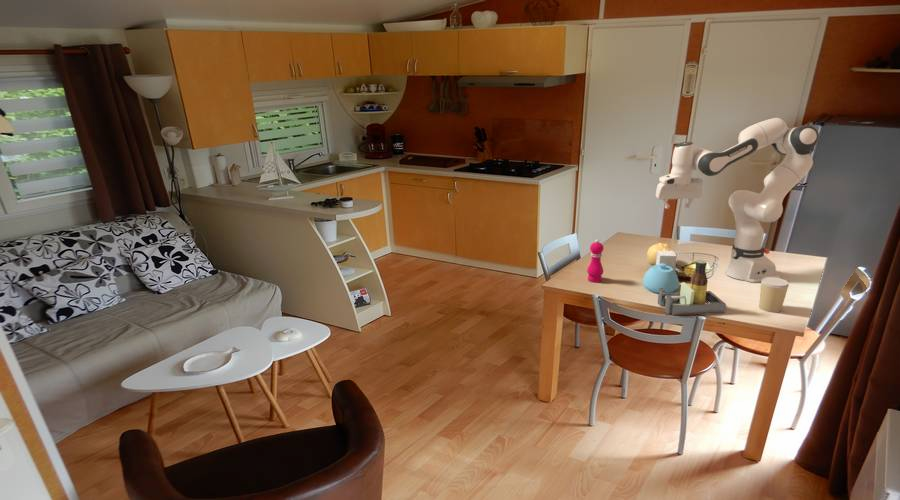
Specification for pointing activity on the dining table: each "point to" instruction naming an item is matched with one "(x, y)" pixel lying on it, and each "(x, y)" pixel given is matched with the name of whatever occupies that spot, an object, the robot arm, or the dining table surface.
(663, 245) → the sculpture
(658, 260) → the supplement box
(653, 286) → the blue upside-down bowl
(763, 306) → the coffee cup
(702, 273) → the sauce bottle
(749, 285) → the dining table surface
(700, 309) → the gray storage tray
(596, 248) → the pepper mill
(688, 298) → the pusher
